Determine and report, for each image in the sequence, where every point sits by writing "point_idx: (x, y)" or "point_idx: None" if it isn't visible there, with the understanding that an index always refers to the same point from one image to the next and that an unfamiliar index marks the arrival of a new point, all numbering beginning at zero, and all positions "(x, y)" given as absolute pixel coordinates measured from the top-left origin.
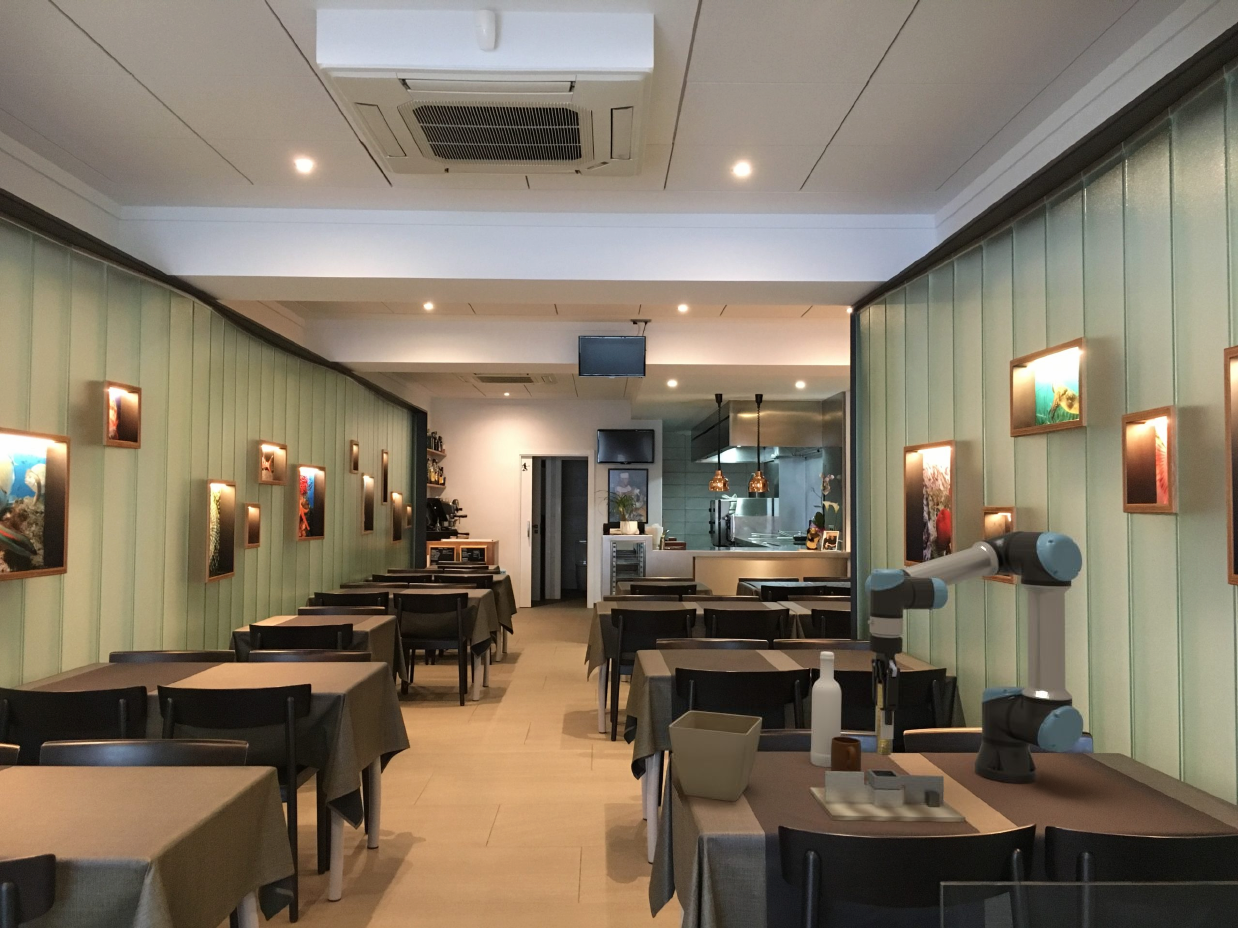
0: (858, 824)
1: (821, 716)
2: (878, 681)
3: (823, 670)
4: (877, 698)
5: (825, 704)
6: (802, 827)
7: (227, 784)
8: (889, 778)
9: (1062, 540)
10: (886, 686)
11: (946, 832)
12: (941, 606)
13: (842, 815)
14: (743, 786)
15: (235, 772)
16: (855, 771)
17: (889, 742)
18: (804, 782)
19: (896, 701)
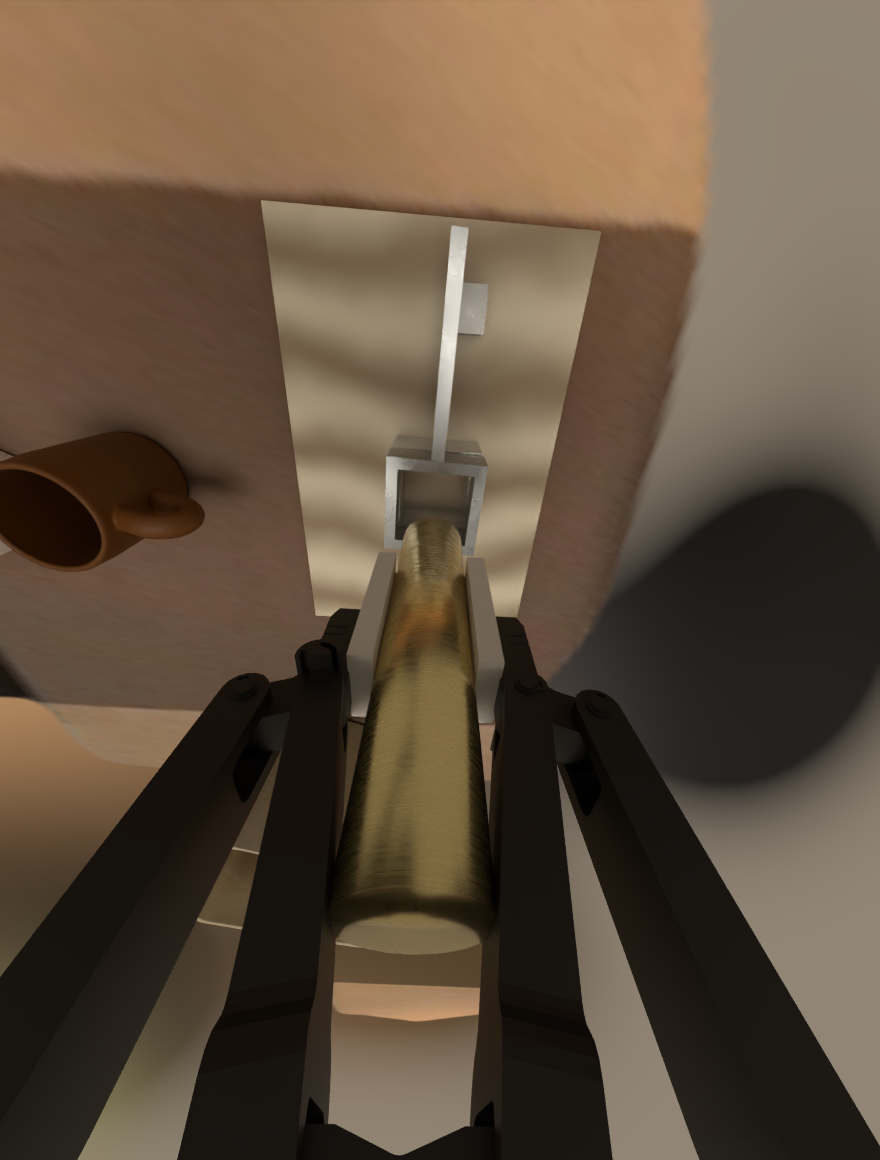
0: (549, 580)
1: None
2: (332, 965)
3: None
4: (346, 762)
5: None
6: (545, 677)
7: (373, 988)
8: (480, 508)
9: None
10: (634, 974)
11: (660, 374)
12: None
13: (518, 608)
14: (361, 735)
15: (341, 989)
16: (163, 470)
17: (460, 556)
18: (244, 601)
19: (643, 763)
